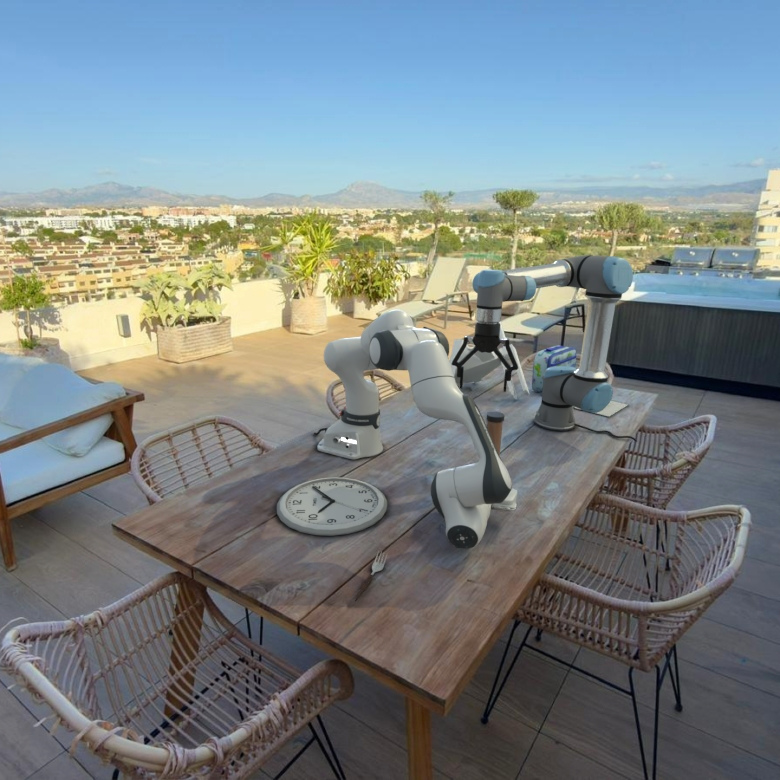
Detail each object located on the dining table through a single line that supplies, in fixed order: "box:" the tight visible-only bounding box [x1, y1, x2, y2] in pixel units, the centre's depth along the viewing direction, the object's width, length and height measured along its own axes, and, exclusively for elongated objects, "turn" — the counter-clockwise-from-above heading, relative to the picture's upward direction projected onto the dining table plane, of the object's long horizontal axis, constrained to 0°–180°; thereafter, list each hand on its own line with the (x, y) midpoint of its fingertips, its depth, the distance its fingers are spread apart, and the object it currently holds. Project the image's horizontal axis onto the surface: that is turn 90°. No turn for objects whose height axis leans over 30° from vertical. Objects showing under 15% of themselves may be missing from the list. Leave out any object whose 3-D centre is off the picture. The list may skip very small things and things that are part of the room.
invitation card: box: [573, 400, 629, 418], centre depth 226 cm, size 21×1×15 cm
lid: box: [485, 411, 505, 423], centre depth 161 cm, size 5×5×2 cm
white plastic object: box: [449, 320, 531, 400], centre depth 245 cm, size 37×45×31 cm
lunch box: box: [531, 345, 577, 394], centre depth 245 cm, size 26×11×21 cm, turn 134°
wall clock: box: [276, 476, 388, 537], centre depth 142 cm, size 30×2×30 cm
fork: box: [354, 550, 388, 603], centre depth 112 cm, size 3×16×2 cm, turn 160°
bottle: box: [486, 419, 504, 457], centre depth 164 cm, size 5×5×18 cm
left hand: (481, 480), depth 144 cm, fingers open, 8 cm apart
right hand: (482, 389), depth 165 cm, fingers open, 13 cm apart
